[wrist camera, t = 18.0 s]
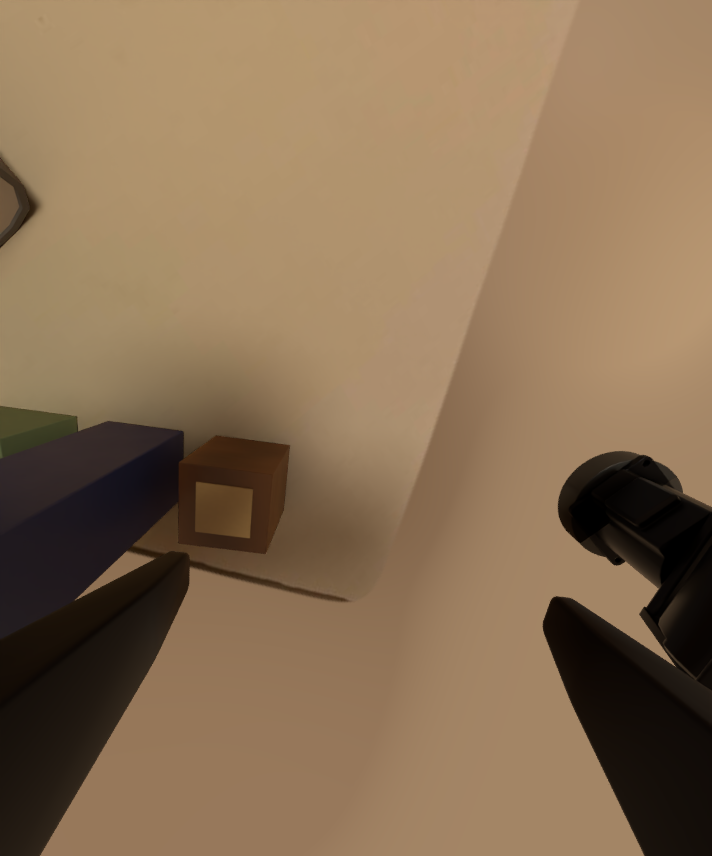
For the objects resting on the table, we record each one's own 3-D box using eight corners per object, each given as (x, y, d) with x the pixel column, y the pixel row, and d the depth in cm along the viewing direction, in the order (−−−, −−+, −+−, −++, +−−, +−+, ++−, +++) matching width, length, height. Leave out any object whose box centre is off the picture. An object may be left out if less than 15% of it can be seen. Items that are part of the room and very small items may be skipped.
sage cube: (76, 416, 20) (-3, 439, 16) (82, 484, 21) (10, 524, 17) (-2, 405, 20) (-105, 425, 16) (8, 475, 21) (-85, 513, 17)
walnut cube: (290, 445, 21) (272, 475, 16) (283, 510, 22) (265, 555, 18) (215, 435, 21) (177, 462, 16) (213, 501, 22) (177, 544, 17)
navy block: (184, 430, 21) (-35, 553, 9) (183, 497, 22) (-11, 682, 10) (107, 420, 20) (-218, 532, 9) (111, 488, 22) (-170, 666, 10)
